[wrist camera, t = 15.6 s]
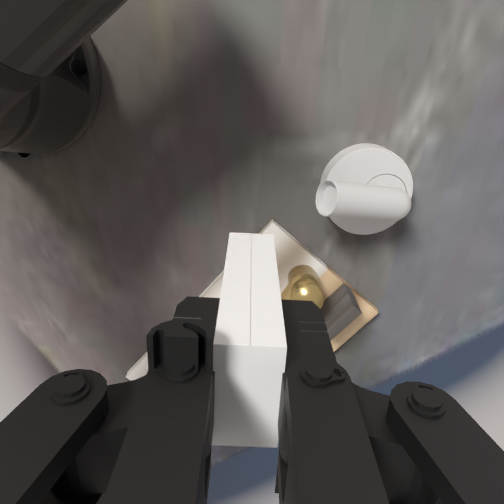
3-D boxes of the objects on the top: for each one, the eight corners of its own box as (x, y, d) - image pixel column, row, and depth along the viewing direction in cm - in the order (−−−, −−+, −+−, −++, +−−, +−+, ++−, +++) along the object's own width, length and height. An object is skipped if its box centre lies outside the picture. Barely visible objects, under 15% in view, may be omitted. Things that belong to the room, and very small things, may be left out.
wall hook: (336, 147, 33) (459, 175, 34) (319, 131, 42) (417, 153, 43) (307, 249, 36) (420, 272, 37) (296, 214, 45) (388, 233, 46)
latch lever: (254, 374, 50) (254, 405, 45) (220, 358, 49) (217, 388, 44) (327, 276, 45) (336, 300, 40) (292, 256, 44) (296, 278, 40)
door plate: (128, 370, 53) (113, 407, 47) (272, 218, 45) (275, 240, 40) (228, 436, 57) (225, 477, 51) (376, 307, 49) (392, 338, 44)
